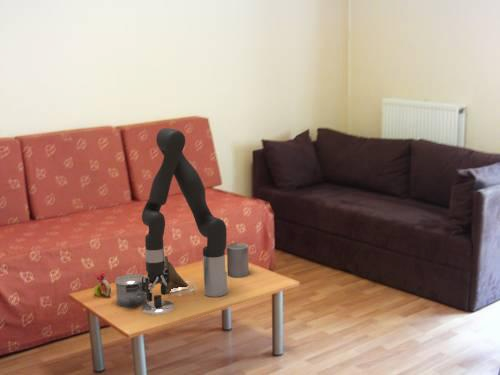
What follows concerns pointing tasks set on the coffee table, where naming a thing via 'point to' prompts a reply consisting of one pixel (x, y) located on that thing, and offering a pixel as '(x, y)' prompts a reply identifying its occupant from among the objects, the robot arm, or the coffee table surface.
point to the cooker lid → (158, 306)
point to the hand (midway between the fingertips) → (156, 297)
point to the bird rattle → (102, 286)
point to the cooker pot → (130, 290)
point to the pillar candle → (237, 260)
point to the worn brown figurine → (173, 277)
